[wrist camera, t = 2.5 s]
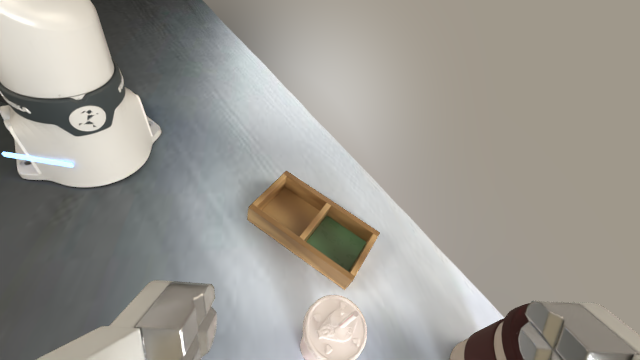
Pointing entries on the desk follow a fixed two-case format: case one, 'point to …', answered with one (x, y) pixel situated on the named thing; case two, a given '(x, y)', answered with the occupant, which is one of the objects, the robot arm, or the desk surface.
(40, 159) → the robot arm
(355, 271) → the tray
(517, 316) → the coffee cup
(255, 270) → the desk surface
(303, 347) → the smoothie
